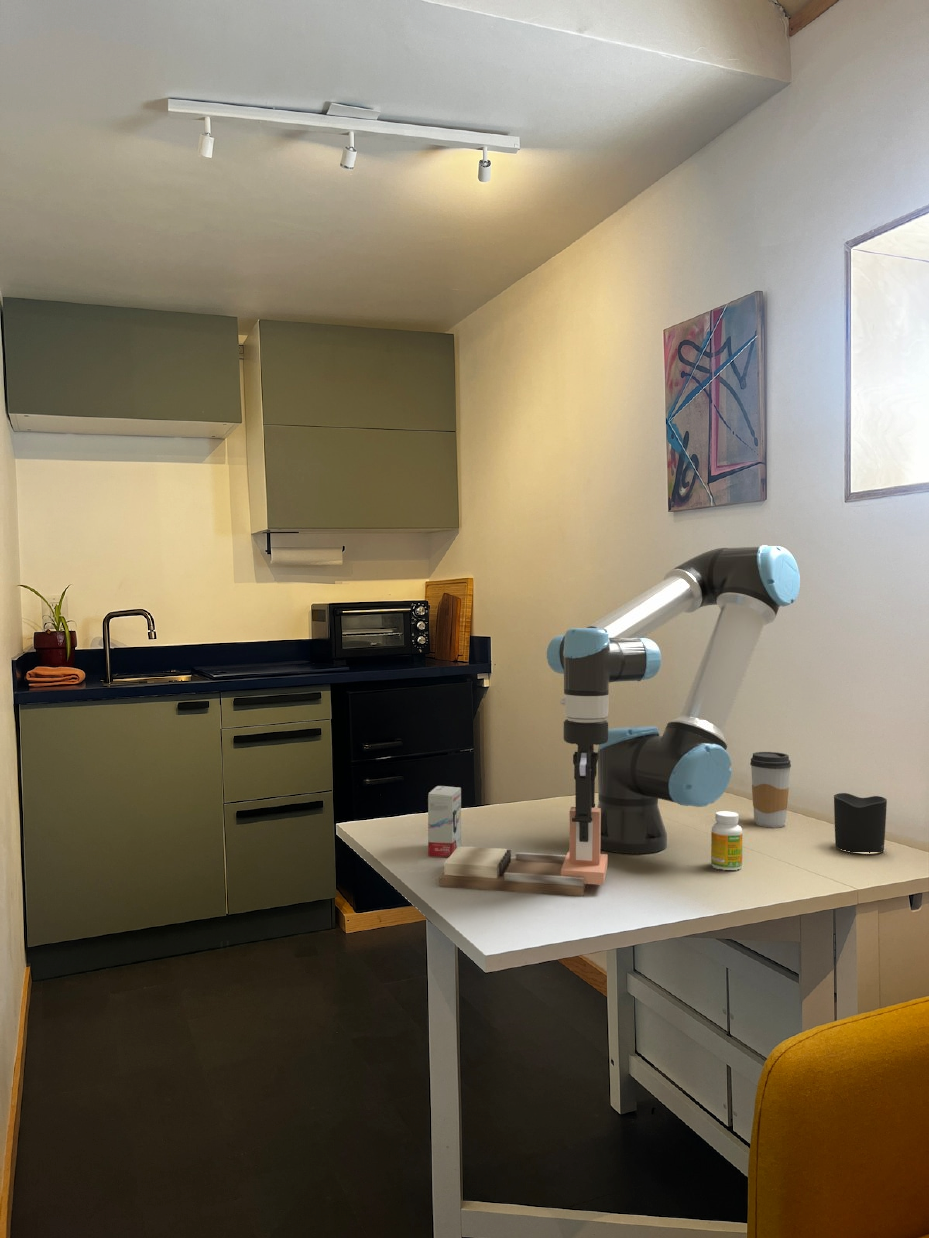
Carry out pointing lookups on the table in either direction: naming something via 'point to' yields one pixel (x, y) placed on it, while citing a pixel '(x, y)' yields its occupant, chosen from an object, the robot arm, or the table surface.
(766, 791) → the coffee cup
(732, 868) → the supplement bottle
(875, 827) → the pen holder
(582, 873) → the stub
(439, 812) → the ink box
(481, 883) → the board
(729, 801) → the table surface
